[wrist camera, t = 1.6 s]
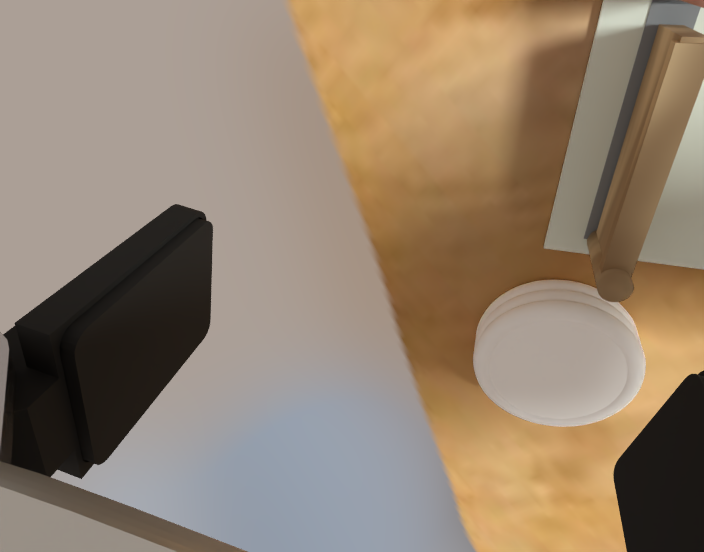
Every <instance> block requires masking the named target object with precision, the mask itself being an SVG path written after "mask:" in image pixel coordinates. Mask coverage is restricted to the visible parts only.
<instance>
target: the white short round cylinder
mask: <svg viewBox="0 0 704 552" xmlns="http://www.w3.org/2000/svg"><path fill="white" fill-rule="evenodd" d="M473 366H474V371H475V375H476V378H477V380H478V382H479V385H480V386H481V388H482V390H483V391H484V392H485V394H486V395H487V396H488V397H489V398H490V399H491V400H492V401H493V402H494V403H495V404H496V405H498V406H499V407H500V408H502V409H503V410H505V411H507V412H508V413H510V414H512V415H514V416H516V417H519V418H521V419H524V420H527V421H530V422H533V423H537V424H542V425H548V426H560V427H566V426H579V425H586V424H590V423H594V422H597V421H600V420H603V419H605V418H608V417H610V416H612V415H614V414H615V413H617V412H619V411H620V410H622V409H623V408H624V407H626V406H627V405H628V404H629V403H630V402H631V401H632V400H633V398H634V397H635V396H636V395H637V393H638V391H639V390H640V388H641V386H642V383H643V380H644V376H645V369H646V361H645V355H644V351H643V349H642V346H641V342H640V338H639V336H638V332H637V328H636V325H635V323H634V321H633V319H632V317H631V316H630V315H629V313H628V312H627V311H626V309H625V308H624V307H623V306H622V305H621V304H620V303H619V302H609V301H606V300H604V299H602V298H601V297H600V296H599V294H598V291H597V288H595V287H592V286H590V285H586V284H583V283H580V282H575V281H569V280H557V279H555V280H540V281H533V282H530V283H526V284H522V285H520V286H517V287H515V288H512V289H511V290H509V291H507V292H505V293H504V294H502V295H501V296H499V297H498V298H497V299H496V300H495V301H493V302H492V303H491V305H490V306H489V307H488V308H487V309H486V311H485V312H484V314H483V316H482V317H481V319H480V322H479V324H478V327H477V331H476V340H475V347H474V355H473Z"/></svg>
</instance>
